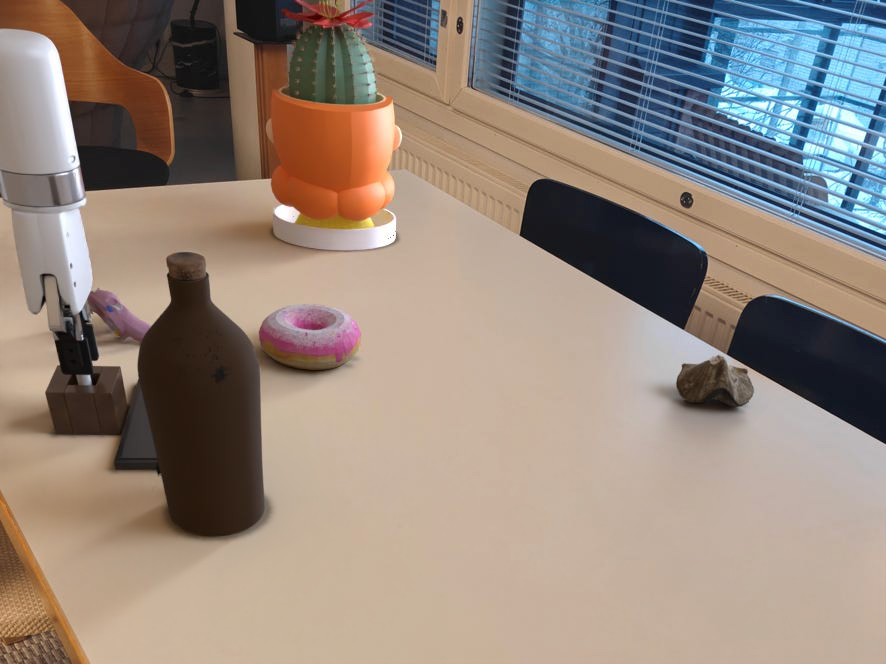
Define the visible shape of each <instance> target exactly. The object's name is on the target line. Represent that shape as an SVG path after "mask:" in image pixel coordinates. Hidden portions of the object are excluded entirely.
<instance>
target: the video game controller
mask: <svg viewBox="0 0 886 664" xmlns="http://www.w3.org/2000/svg"><path fill="white" fill-rule="evenodd" d="M87 301H88V305H89V310H90V314H91V315H94V314H96V315H98V317H99V318H100V319H101V320H102V321H103V322H104V323H105V325H106V326H107V327H108V328H109V329H110V330H111V331H112V332H113V333H114V335H115V336H116V337H118V338H119V337H120V338H121V339H122V340H123V341H125V340H127V339H128V338H130V339H133V340H135V341H138V342H140V343H141V342H142V339H143V337H144V335H145V334H146V332H147V331H148V330H149V328H150V327H151V326H152V325H151V324H149V323H147V322H146V321H144V320H142V319H140V318H139V317H137V316H135V315H134V314H133V313H132V312H131V311H130V310H129V309H128V308H127V306H126V305H125V304H124V303H122V302H121V300H120V298H119V297H118V295H117V294H115V293H114V292H112V291H109V290H104V289H101V288H100V287H99V286H97V288H96V289H95V290H94V289H91V291H90V293H89V295H88V298H87Z"/></svg>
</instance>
